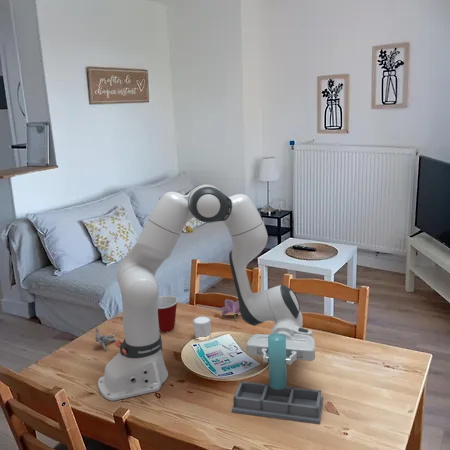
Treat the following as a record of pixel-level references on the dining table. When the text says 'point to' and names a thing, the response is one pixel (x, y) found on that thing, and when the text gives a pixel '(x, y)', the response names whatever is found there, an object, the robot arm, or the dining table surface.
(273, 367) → the teal cylinder
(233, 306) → the lily
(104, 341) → the grey humanoid figurine
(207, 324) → the shot glass
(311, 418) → the cup rack
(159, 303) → the plastic cup
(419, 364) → the dining table surface
